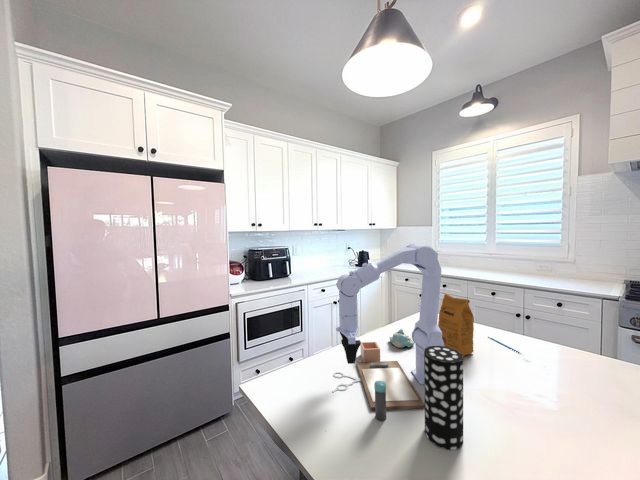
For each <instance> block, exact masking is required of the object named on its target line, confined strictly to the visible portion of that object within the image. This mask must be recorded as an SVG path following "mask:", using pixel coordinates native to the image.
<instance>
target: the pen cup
mask: <svg viewBox="0 0 640 480" xmlns="http://www.w3.org/2000/svg"><path fill="white" fill-rule="evenodd" d="M360 342H361V344H360V356H361V359H363V360H362V362H380V361H381V348H380V346H379V344H378V342H377V341H360Z"/></svg>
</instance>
